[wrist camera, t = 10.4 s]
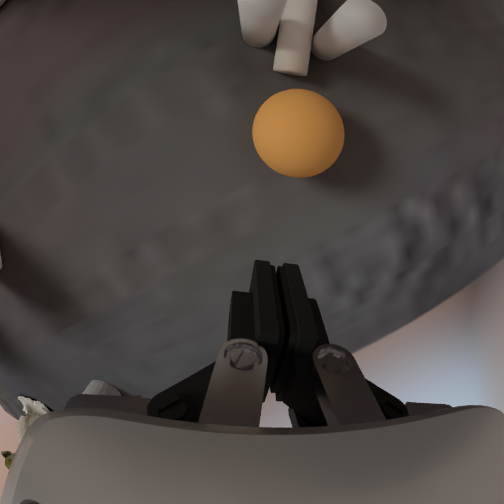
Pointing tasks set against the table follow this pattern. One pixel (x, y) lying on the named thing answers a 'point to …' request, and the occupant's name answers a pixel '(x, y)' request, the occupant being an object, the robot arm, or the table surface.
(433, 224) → the table surface
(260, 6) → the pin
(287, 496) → the robot arm
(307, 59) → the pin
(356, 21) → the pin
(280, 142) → the ball
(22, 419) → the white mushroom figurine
